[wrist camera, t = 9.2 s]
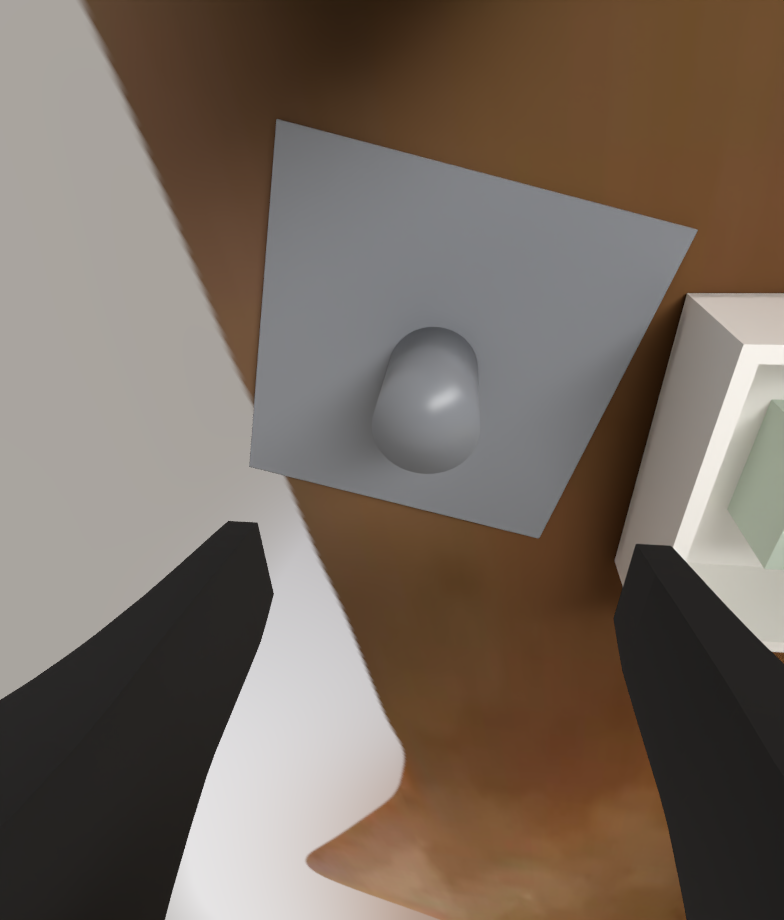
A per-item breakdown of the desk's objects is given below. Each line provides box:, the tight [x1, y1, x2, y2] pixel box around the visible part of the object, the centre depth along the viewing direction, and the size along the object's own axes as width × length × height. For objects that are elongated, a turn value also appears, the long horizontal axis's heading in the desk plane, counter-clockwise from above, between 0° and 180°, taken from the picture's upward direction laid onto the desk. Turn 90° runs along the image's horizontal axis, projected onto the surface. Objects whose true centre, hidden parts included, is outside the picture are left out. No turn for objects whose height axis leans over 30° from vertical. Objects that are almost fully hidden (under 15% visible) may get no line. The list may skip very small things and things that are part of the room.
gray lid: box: [249, 119, 698, 538], centre depth 17 cm, size 12×12×5 cm
